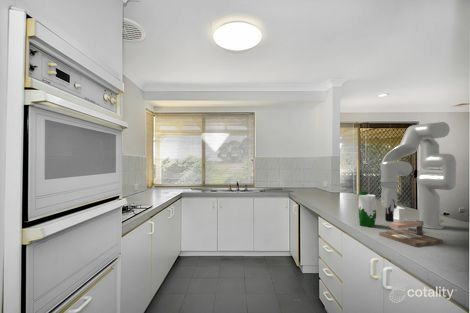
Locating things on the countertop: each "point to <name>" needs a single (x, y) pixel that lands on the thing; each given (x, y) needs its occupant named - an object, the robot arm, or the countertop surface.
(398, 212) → the base with upright slab
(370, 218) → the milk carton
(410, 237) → the label board
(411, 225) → the swing arm
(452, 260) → the countertop surface
